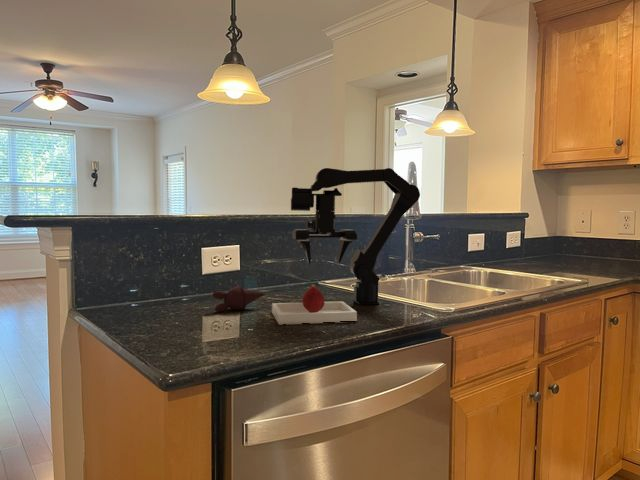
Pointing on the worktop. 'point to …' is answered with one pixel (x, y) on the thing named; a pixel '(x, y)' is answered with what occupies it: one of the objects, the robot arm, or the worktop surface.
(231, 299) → the dark red toy figure
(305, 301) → the onion
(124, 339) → the worktop surface
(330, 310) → the tray
